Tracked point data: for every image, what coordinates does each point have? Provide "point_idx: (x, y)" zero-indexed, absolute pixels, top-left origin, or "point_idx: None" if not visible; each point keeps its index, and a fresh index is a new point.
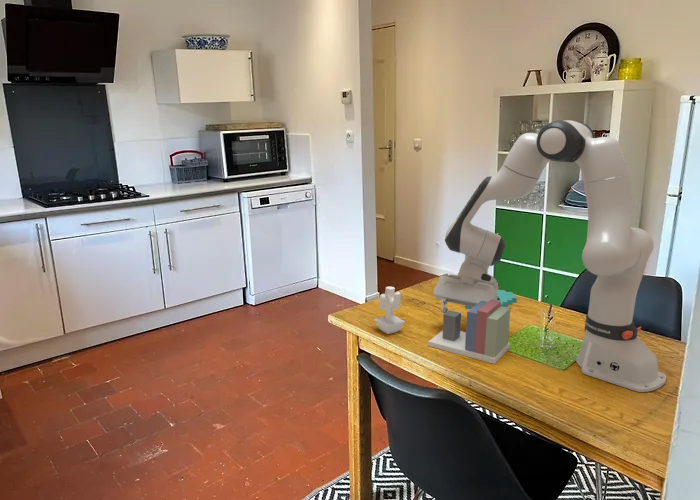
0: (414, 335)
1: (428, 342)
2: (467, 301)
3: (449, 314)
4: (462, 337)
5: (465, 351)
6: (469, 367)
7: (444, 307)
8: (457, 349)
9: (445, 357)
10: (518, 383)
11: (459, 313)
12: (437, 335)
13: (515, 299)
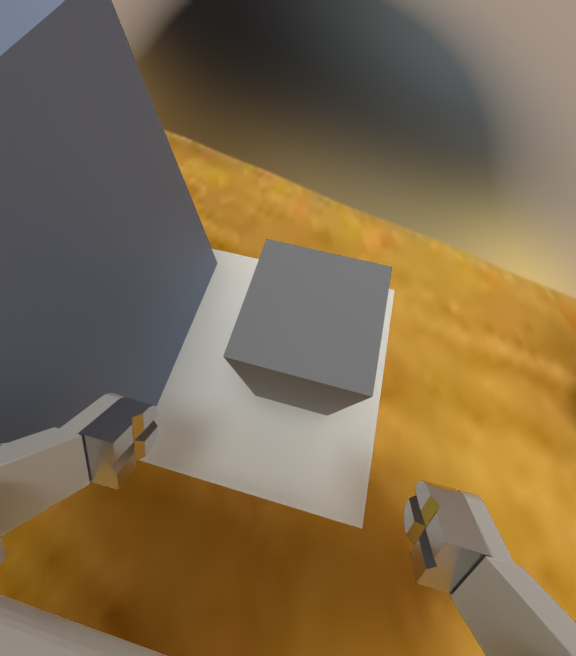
0: (495, 393)
1: (391, 292)
2: (55, 625)
3: (335, 276)
4: (240, 393)
5: (214, 249)
6: (200, 193)
7: (470, 536)
8: (250, 257)
9: (292, 232)
10: None
11: (240, 335)
12: (376, 372)
13: None
